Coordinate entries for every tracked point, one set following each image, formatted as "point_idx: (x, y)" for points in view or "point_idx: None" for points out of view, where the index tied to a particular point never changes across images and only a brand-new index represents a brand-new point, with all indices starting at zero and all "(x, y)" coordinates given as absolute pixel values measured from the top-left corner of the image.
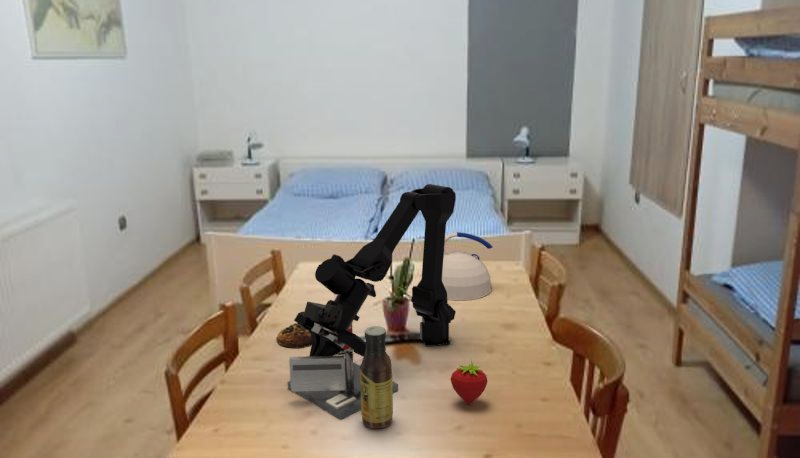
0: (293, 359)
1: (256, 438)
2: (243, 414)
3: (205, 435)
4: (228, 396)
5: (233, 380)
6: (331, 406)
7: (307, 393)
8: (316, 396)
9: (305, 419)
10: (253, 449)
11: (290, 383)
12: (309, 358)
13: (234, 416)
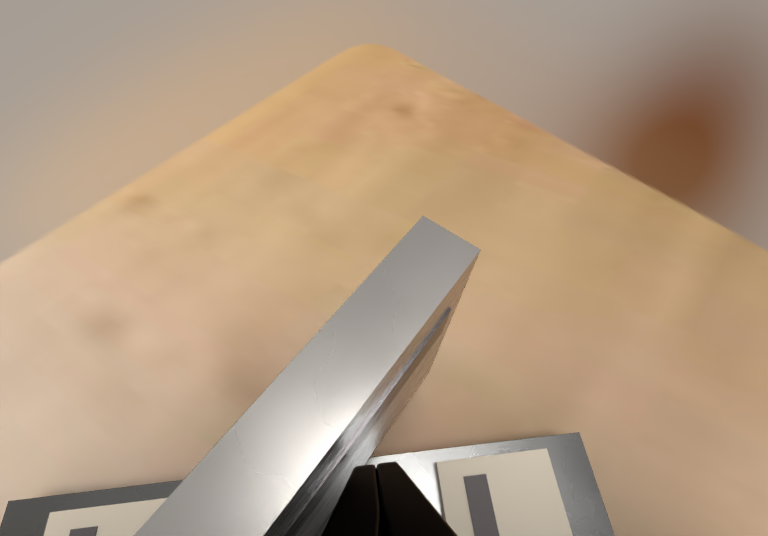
0: (395, 248)
1: (264, 163)
2: (441, 191)
3: (395, 86)
4: (608, 203)
5: (754, 267)
6: (116, 498)
7: (370, 460)
8: None
9: (219, 349)
10: (219, 136)
11: (552, 438)
12: (269, 414)
13: (447, 167)
